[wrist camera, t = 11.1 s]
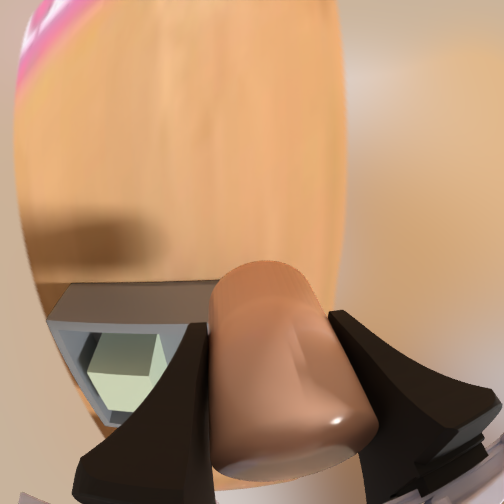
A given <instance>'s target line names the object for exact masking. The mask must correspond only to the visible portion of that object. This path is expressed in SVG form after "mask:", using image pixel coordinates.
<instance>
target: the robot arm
mask: <svg viewBox="0 0 504 504" xmlns="http://www.w3.org/2000/svg"><path fill="white" fill-rule="evenodd" d="M328 320H329V322H330V324H331V326H332V328H333V330H334V332H335V334H336V336H337V338H338V340H339V342H340V343H341V345H342V347H343V349H344V351H345V353H346V355H347V357H348V359H349V361H350V363H351V365H352V367H353V369H354V371H355V374H356V376H357V378H358V380H359V382H360V384H361V386H362V388H363V390H364V392H365V394H366V396H367V398H368V400H369V402H370V405H371V407H372V409H373V411H374V413H375V415H376V417H377V419H378V422H379V428H378V431H377V433H376V435H375V437H374V438H373V439H372V440H371V442H370V443H369V444H368V445H367V446H366V447H364V448H363V449H362V450H361V451H359V452H358V454H359V458H360V463H361V468H362V473H363V478H364V485H365V493H366V501H367V504H422V503H424V502H425V503H424V504H501V503H502V502H503V501H504V433H503V434H502V435H501V436H500V438H498V439H497V440H496V441H494V442H493V443H492V444H490V445H489V446H488V447H486V448H484V446H483V444H482V443H481V442H482V441H483V440H484V436H483V434H482V431H483V430H484V429H485V428H486V427H487V426H488V425H489V424H490V423H491V422H492V421H493V419H494V418H495V417H496V416H497V415H498V413H499V412H500V410H501V408H502V403H501V402H500V400H499V399H498V397H497V396H496V395H495V393H494V392H493V390H492V389H489V388H484V387H480V386H476V385H471V384H468V383H465V382H461V381H458V380H455V379H452V378H450V377H447V376H444V375H442V374H440V373H437V372H435V371H433V370H431V369H429V368H427V367H425V366H423V365H421V364H419V363H417V362H416V361H414V360H412V359H410V358H408V357H407V356H405V355H404V354H402V353H400V352H399V351H397V350H396V349H394V348H393V347H391V346H390V345H389V344H387V343H385V342H384V341H383V340H382V339H380V338H379V337H378V336H376V335H375V334H374V333H372V332H371V331H370V330H369V329H367V328H366V327H365V326H364V325H362V324H361V323H360V322H358V321H357V320H356V319H355V318H353V317H352V316H351V315H349V314H348V313H347V312H346V311H344V310H337V311H329V314H328ZM72 495H73V497H74V498H75V499H76V500H77V501H79V502H80V503H82V504H219V503H218V502H217V501H216V500H215V493H214V483H213V473H212V465H211V460H210V436H209V397H208V329H207V322H197V323H190V324H189V325H188V326H187V329H186V331H185V333H184V336H183V338H182V340H181V342H180V344H179V346H178V348H177V350H176V352H175V354H174V356H173V357H172V359H171V361H170V363H169V365H168V366H167V368H166V369H165V371H164V372H163V374H162V376H161V377H160V379H159V380H158V382H157V383H156V385H155V386H154V388H153V389H152V390H151V392H150V393H149V394H148V396H147V397H146V398H145V399H144V401H143V402H142V403H141V404H140V405H139V406H138V408H137V409H136V410H135V411H134V412H133V413H132V414H131V415H130V417H129V418H128V419H127V420H126V421H125V422H124V423H123V424H122V425H120V426H119V427H118V428H117V429H116V430H115V431H114V432H113V433H112V434H111V435H110V436H109V437H107V438H106V439H105V440H104V441H103V442H101V443H100V444H99V445H97V446H96V447H95V448H93V449H92V450H91V451H89V452H88V453H87V454H85V455H84V456H82V457H81V458H80V461H79V464H78V466H77V469H76V473H75V478H74V483H73V489H72ZM18 504H49V503H47V502H45V501H42V500H39V499H37V498H35V497H33V496H30V495H28V494H26V493H24V492H21V493H20V498H19V503H18Z"/></svg>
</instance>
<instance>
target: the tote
mask: <svg viewBox="0 0 504 504" xmlns="http://www.w3.org/2000/svg"><path fill="white" fill-rule="evenodd" d="M219 281H220V280H207V281H176V282H133V283H71V284H70V285H69V287H68V288H67V290H66V291H65V292H64V294H63V295H62V297H61V298H60V300H59V301H58V302H57V304H56V305H55V307H54V308H53V310H52V311H51V313H50V314H49V316H48V317H47V319H46V322H47V324H48V326H49V329H50V331H51V333H52V335H53V337H54V340H55V342H56V344H57V346H58V348H59V350H60V352H61V354H62V356H63V358H64V360H65V362H66V364H67V365H68V367H69V369H70V371H71V373H72V375H73V376H74V378H75V380H76V382H77V383H78V385H79V387H80V388H81V390H82V392H83V393H84V395H85V397H86V398H87V400H88V401H89V403H90V404H91V406H92V408H93V409H94V411H95V412H96V414H97V415H98V417H99V418H100V419H101V421H102V422H103V424H104V425H105V426H109V427H117V428H118V427H119V426H120V425H122V424H123V423H124V422H125V421H126V420H127V419H128V418H129V417H130V415H131V414H132V413H133V412H126V411H116V410H108V408H107V407H106V405H105V403H104V402H103V400H102V398H101V397H100V395H99V393H98V391H97V390H96V388H95V386H94V384H93V383H92V381H91V379H90V377H89V375H88V373H87V370H88V367H89V365H90V362H91V360H92V357H93V354H94V352H95V349H96V347H97V345H98V342H99V340H100V337H101V335H102V333H126V334H159V336H160V340H161V344H162V348H163V352H164V355H165V359H166V363H167V366H168V365H169V363H170V361H171V359H172V357H173V356H174V354H175V352H176V350H177V348H178V346H179V344H180V342H181V340H182V338H183V336H184V333H185V331H186V329H187V326H188V325H189V324H190V323H197V322H207V329H208V313H209V300H210V296H211V293H212V291H213V289H214V288H215V286H216V285H217V283H218V282H219Z"/></svg>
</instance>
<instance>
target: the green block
mask: <svg viewBox="0 0 504 504" xmlns="http://www.w3.org/2000/svg"><path fill="white" fill-rule="evenodd" d="M166 368H167V363H166V359H165V355H164V352H163V348H162V344H161V340H160V336H159V334H126V333H102V335H101V337H100V340H99V342H98V345H97V347H96V349H95V352H94V354H93V357H92V360H91V362H90V365H89V367H88V370H87V373H88V375H89V377H90V379H91V381H92V383H93V384H94V386H95V388H96V390H97V391H98V393H99V395H100V397H101V398H102V400H103V402H104V403H105V405H106V407H107V408H108V410H116V411H126V412H134V411H135V410H136V409H137V408H138V406H139V405H140V404H141V403H142V402H143V401H144V399H145V398H146V397H147V396H148V394H149V393H150V392H151V390H152V389H153V388H154V386H155V385H156V383H157V382H158V380H159V379H160V377H161V376H162V374H163V372H164V371H165V369H166Z"/></svg>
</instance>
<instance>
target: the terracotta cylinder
mask: <svg viewBox="0 0 504 504" xmlns="http://www.w3.org/2000/svg"><path fill="white" fill-rule="evenodd" d="M208 397H209V436H210V460H211V465H212V466H213V468H214V469H215V470H216V471H218V472H219V473H221V474H223V475H225V476H228V477H231V478H234V479H239V480H245V481H255V482H269V481H282V480H289V479H295V478H299V477H304V476H307V475H311V474H314V473H318V472H320V471H323V470H326V469H328V468H331V467H333V466H335V465H338V464H340V463H342V462H343V461H345V460H347V459H349V458H350V457H352V456H354V455H355V454H356V453H358V452H359V451H361V450H362V449H363V448H364V447H366V446H367V445H368V444H369V443H370V442H371V440H372V439H373V438H374V437H375V435H376V433H377V431H378V428H379V422H378V419H377V417H376V415H375V413H374V411H373V409H372V407H371V405H370V402H369V400H368V398H367V396H366V394H365V392H364V390H363V388H362V386H361V384H360V382H359V380H358V378H357V376H356V374H355V371H354V369H353V367H352V365H351V363H350V361H349V359H348V357H347V355H346V353H345V351H344V349H343V347H342V345H341V343H340V342H339V340H338V338H337V336H336V334H335V332H334V330H333V328H332V326H331V324H330V322H329V320H328V318H327V316H326V314H325V312H324V310H323V309H322V307H321V305H320V303H319V301H318V299H317V297H316V295H315V293H314V292H313V290H312V288H311V286H310V284H309V282H308V281H307V279H306V278H305V276H304V275H303V274H302V273H301V272H299V271H298V270H297V269H295V268H293V267H292V266H290V265H287V264H285V263H281V262H277V261H256V262H251V263H247V264H244V265H242V266H239V267H237V268H235V269H233V270H232V271H230V272H229V273H227V274H226V275H225V276H224V277H223V278H222V279H221V280H220V281H219V282H218V283H217V285H216V286H215V288H214V289H213V291H212V293H211V296H210V300H209V313H208Z"/></svg>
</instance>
